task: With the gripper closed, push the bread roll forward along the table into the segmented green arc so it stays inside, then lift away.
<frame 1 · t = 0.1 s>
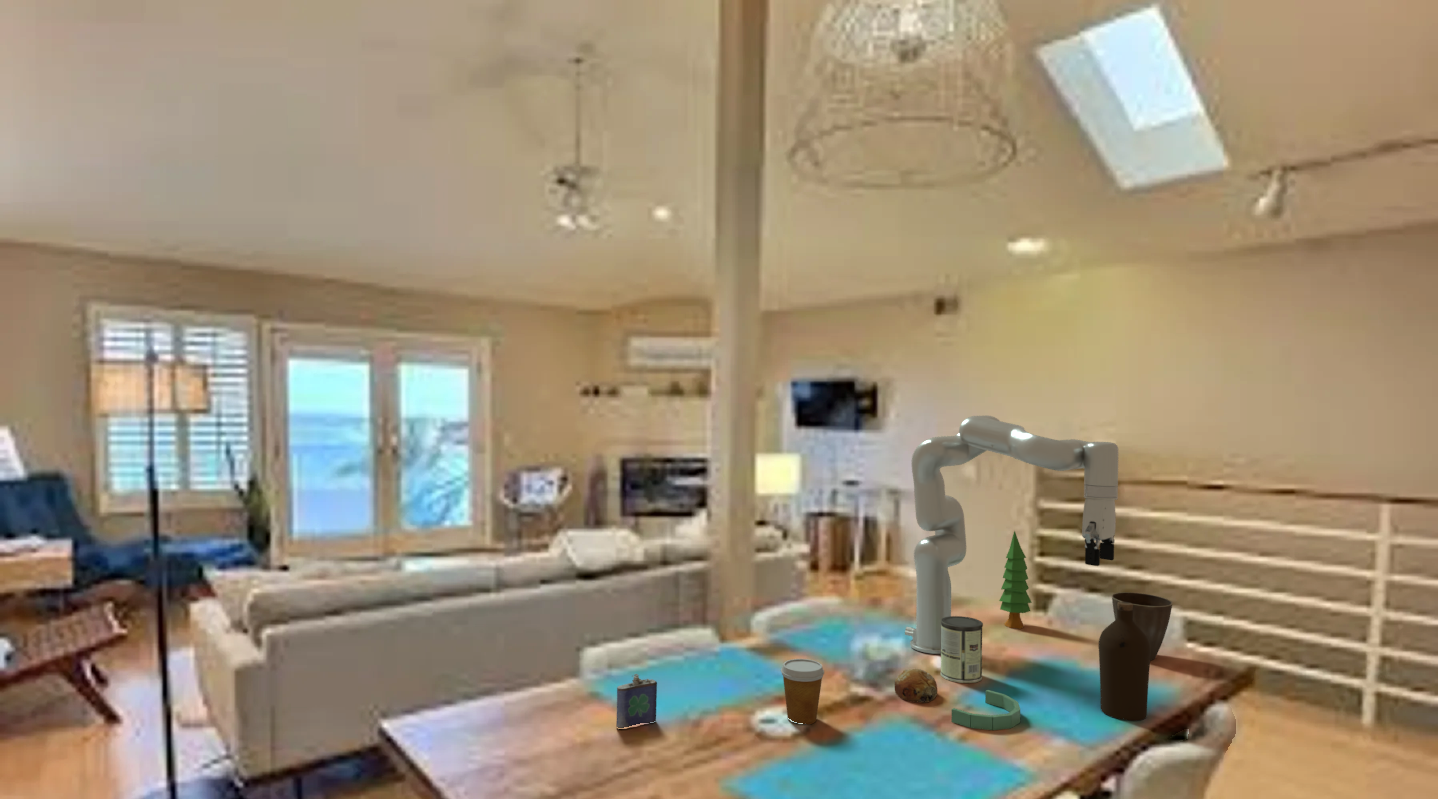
hand: (1099, 562, 201), 31 cm above the table, tool pointing down, fingers open, 9 cm apart
flask: (636, 725, 177), on the table
olive oil: (1123, 713, 186), on the table
decorative tree: (1014, 626, 257), on the table
segmented green arc: (979, 714, 185), on the table
bread roll: (916, 697, 196), on the table
plant pot: (1140, 657, 227), on the table
disposable coffee cup: (801, 720, 181), on the table
coffee can: (960, 677, 210), on the table
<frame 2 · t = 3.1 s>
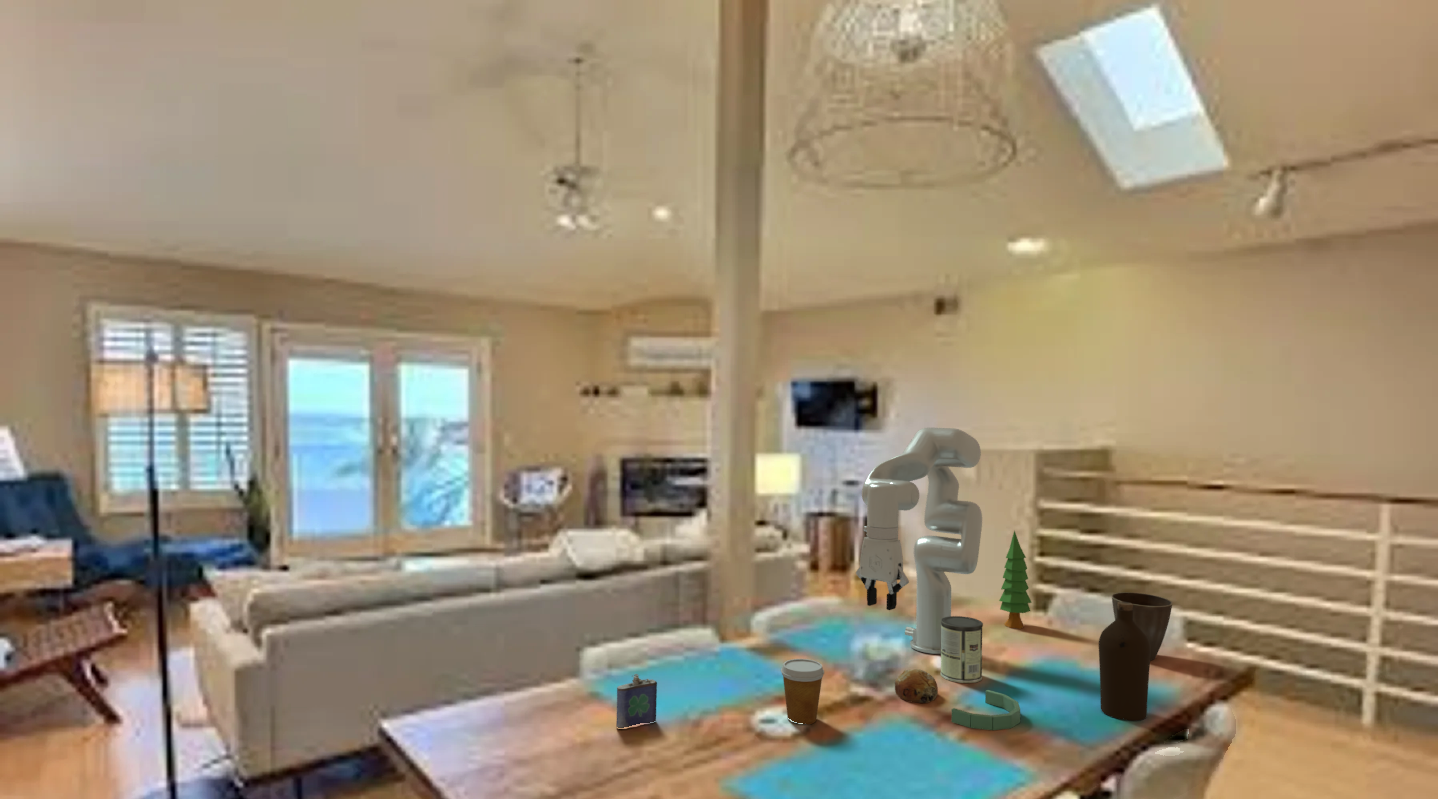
hand: (881, 606, 203), 19 cm above the table, tool pointing down, fingers open, 4 cm apart
nothing on the table moved.
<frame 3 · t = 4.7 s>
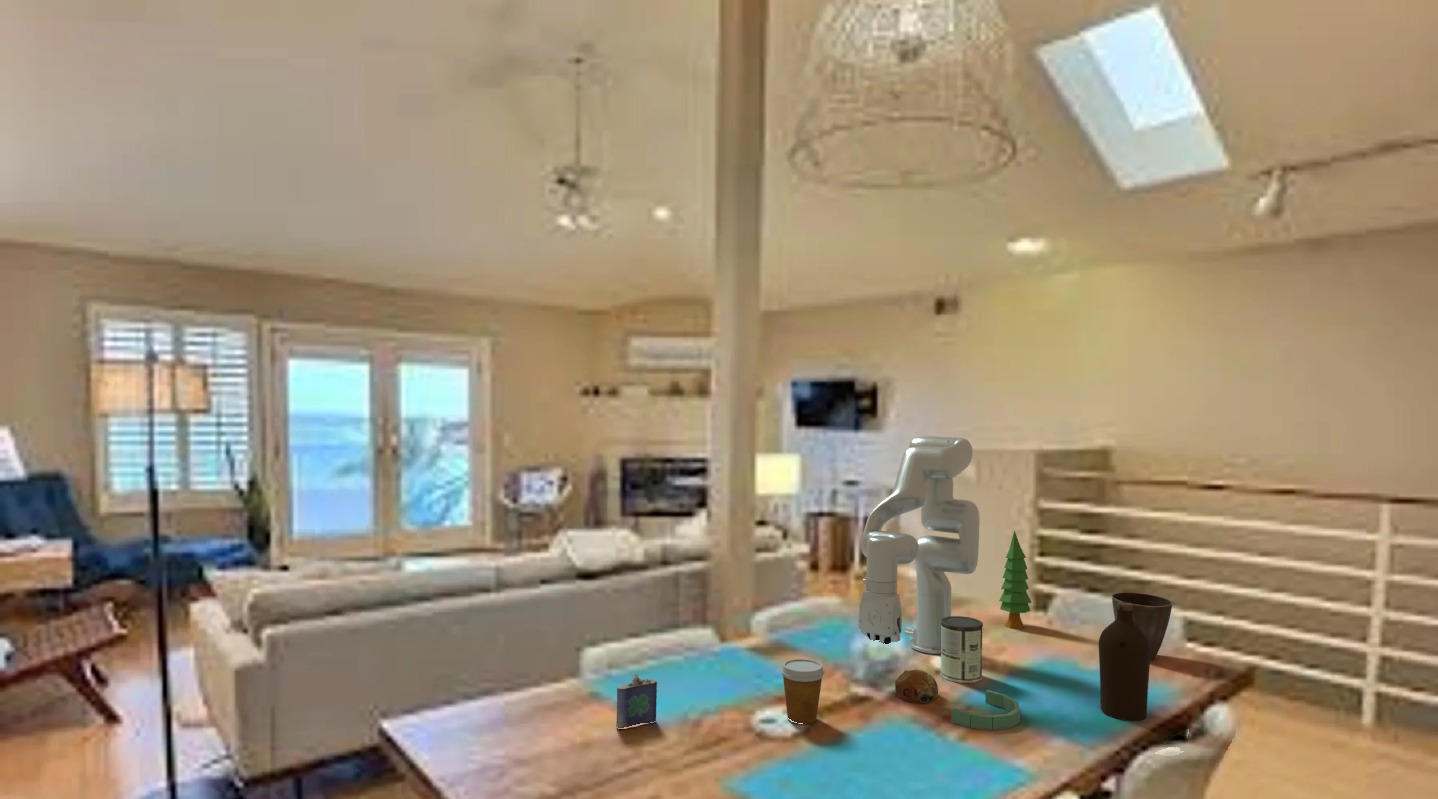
hand: (879, 661, 202), 6 cm above the table, tool pointing down, fingers closed
nothing on the table moved.
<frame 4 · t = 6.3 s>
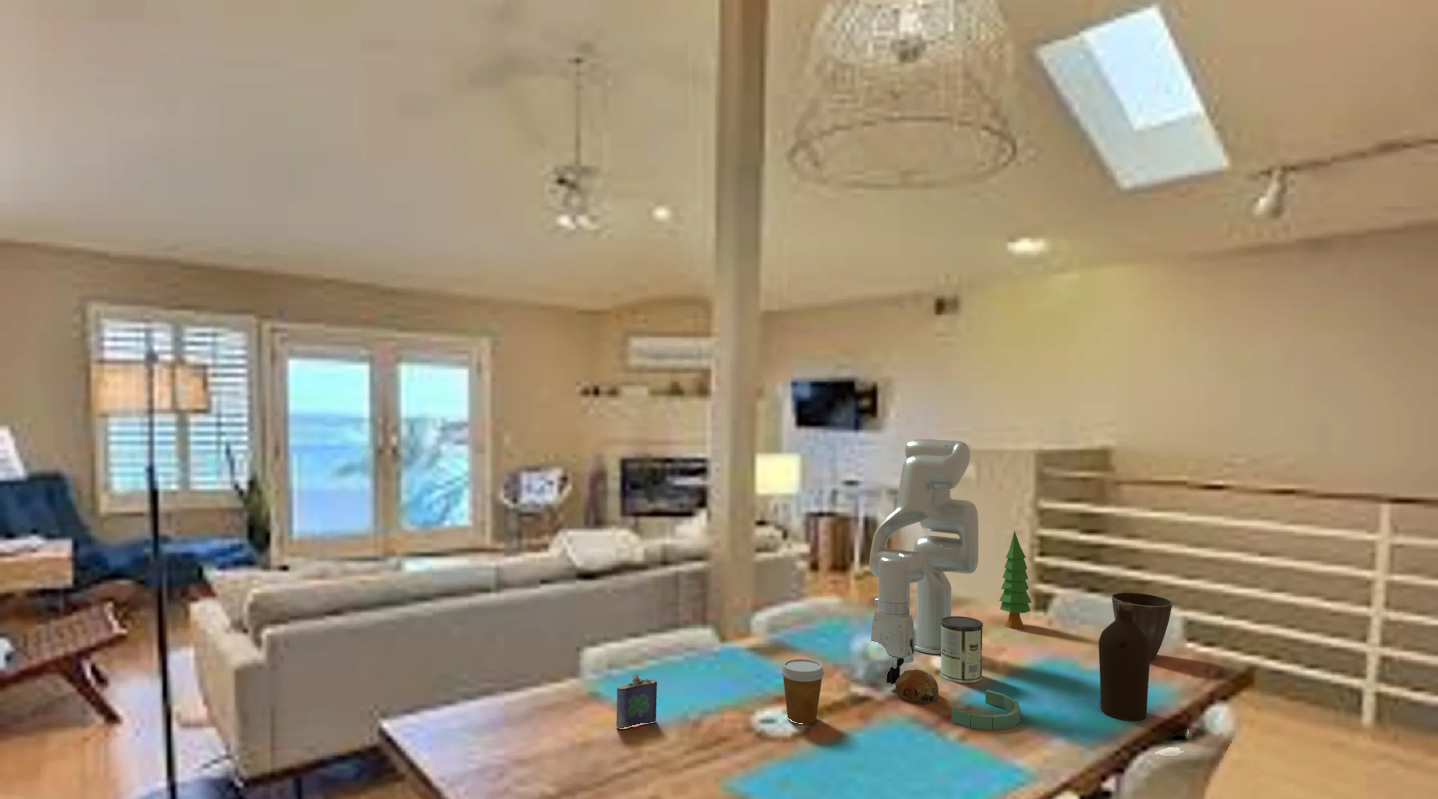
hand: (892, 682, 200), 2 cm above the table, tool pointing down, fingers closed
bread roll: (917, 697, 195), on the table, touching gripper
everything else where it was.
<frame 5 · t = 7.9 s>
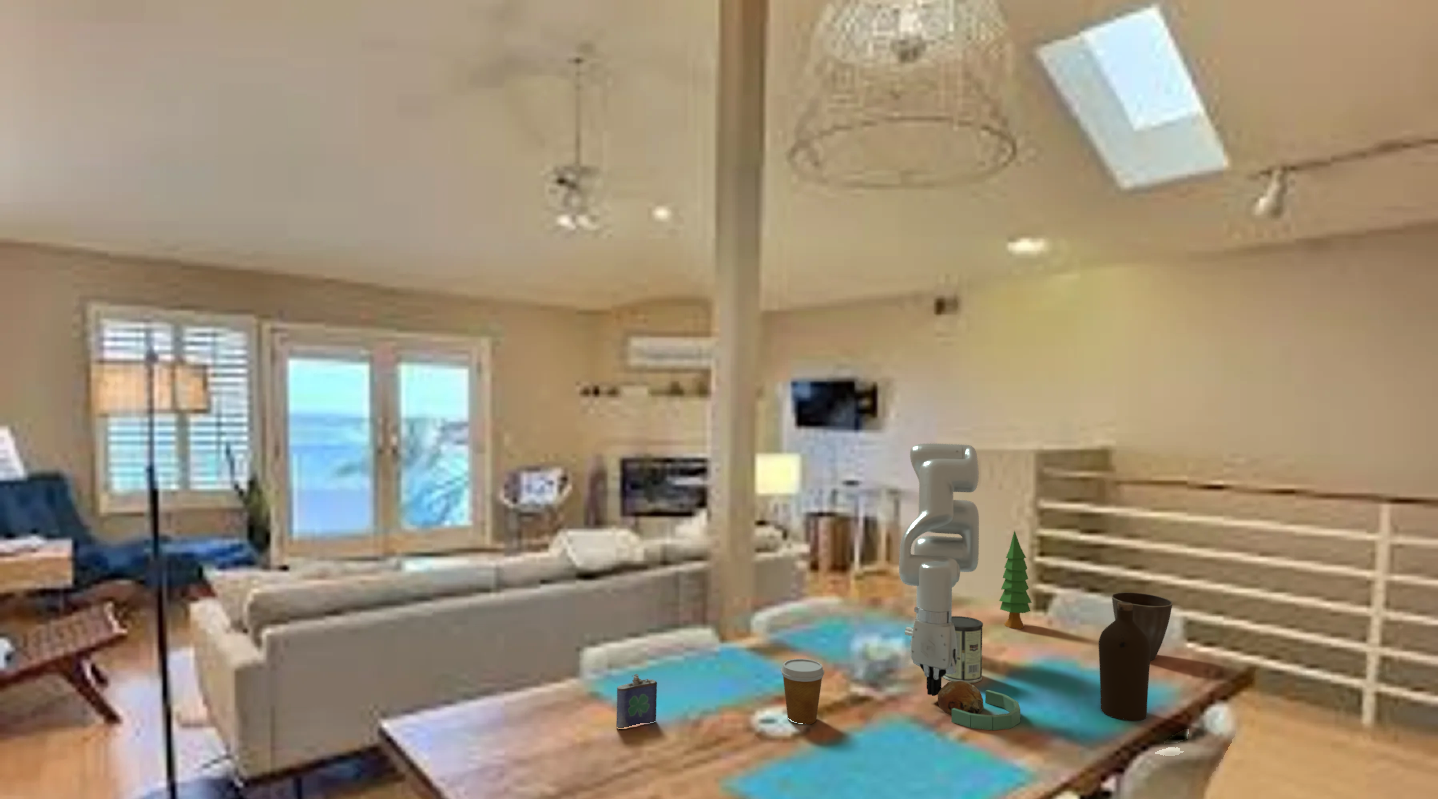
hand: (933, 693, 193), 2 cm above the table, tool pointing down, fingers closed
bread roll: (961, 710, 188), on the table, touching gripper
everything else where it was.
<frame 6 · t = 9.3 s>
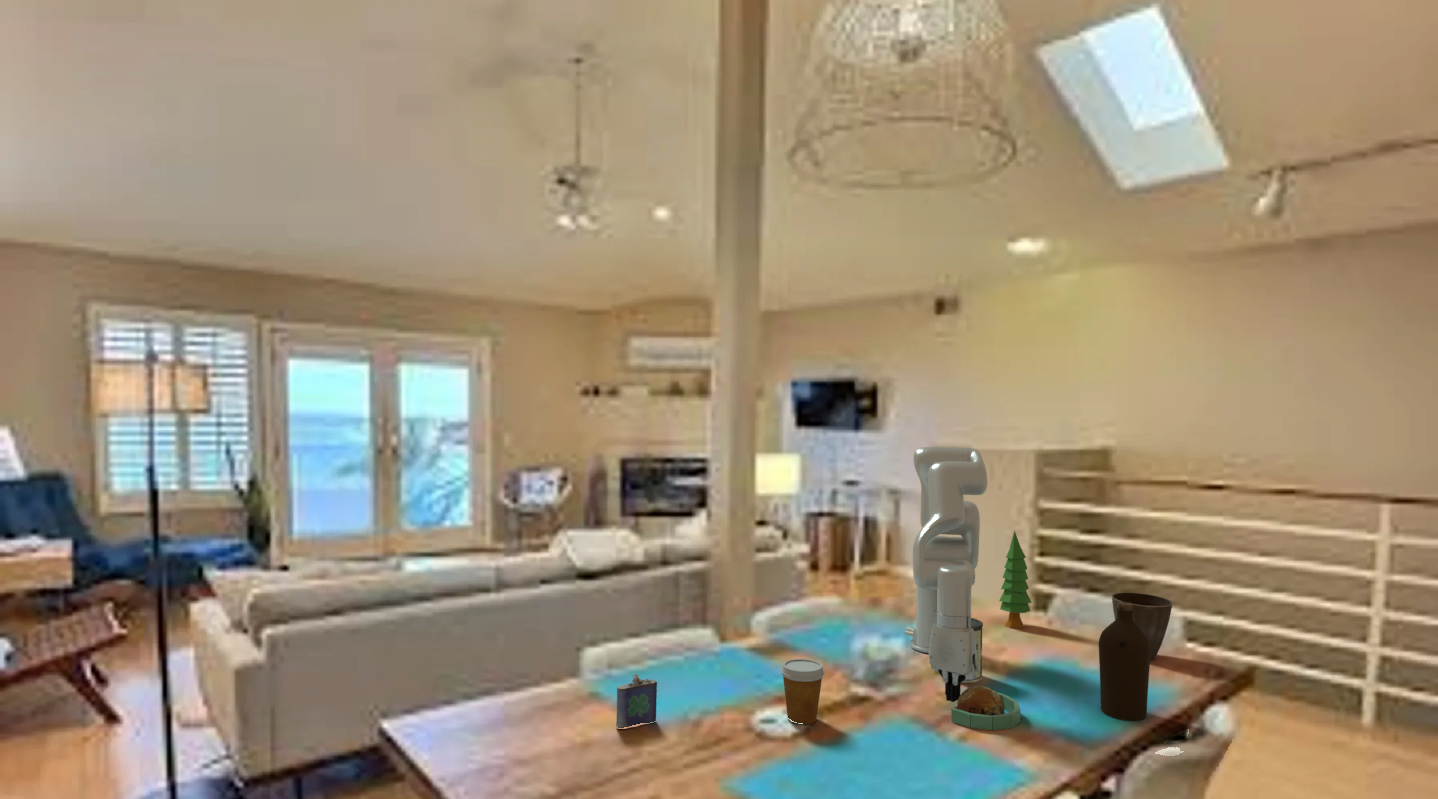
hand: (952, 699, 189), 2 cm above the table, tool pointing down, fingers closed
bread roll: (981, 716, 185), on the table
everything else where it was.
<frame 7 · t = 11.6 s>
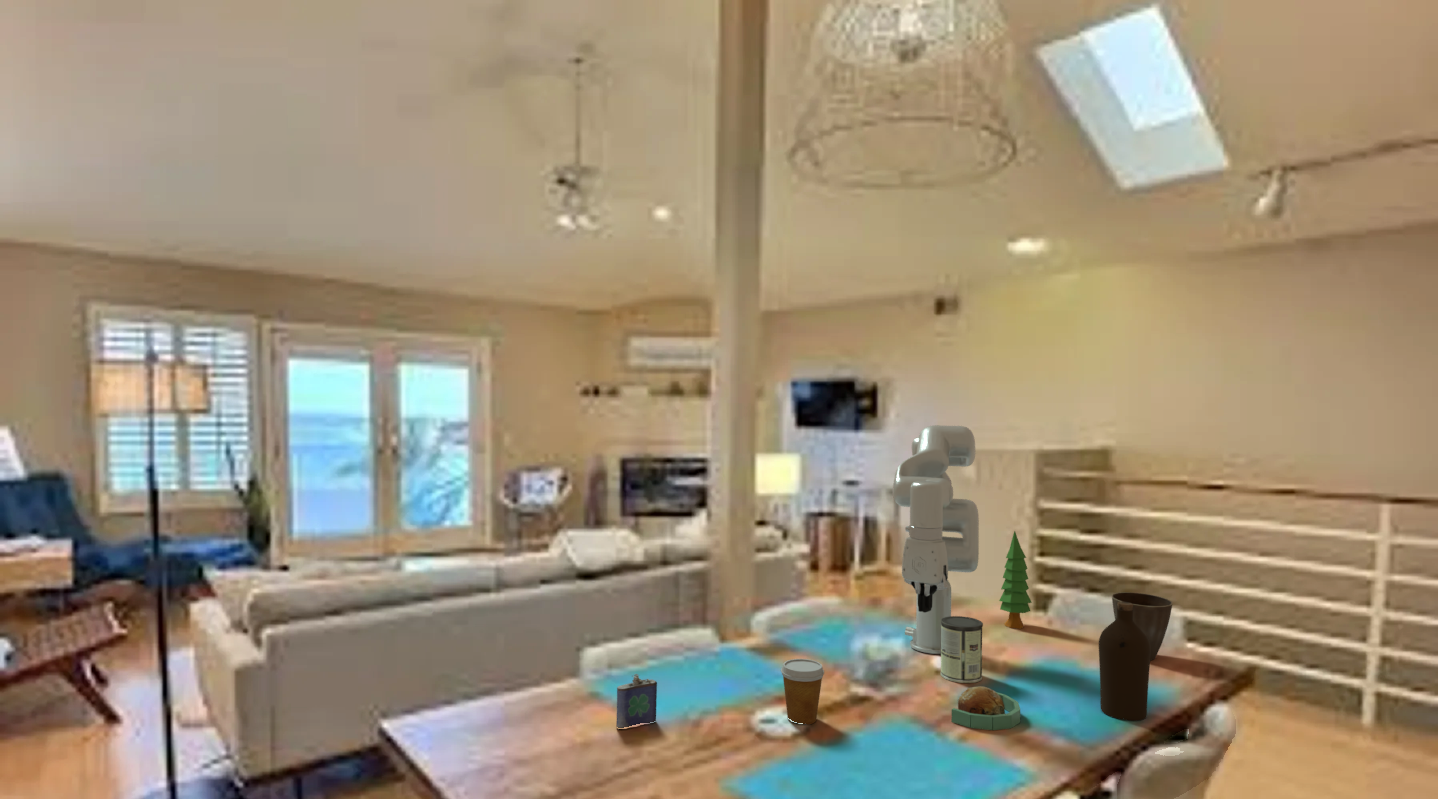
hand: (924, 610, 195), 21 cm above the table, tool pointing down, fingers closed
nothing on the table moved.
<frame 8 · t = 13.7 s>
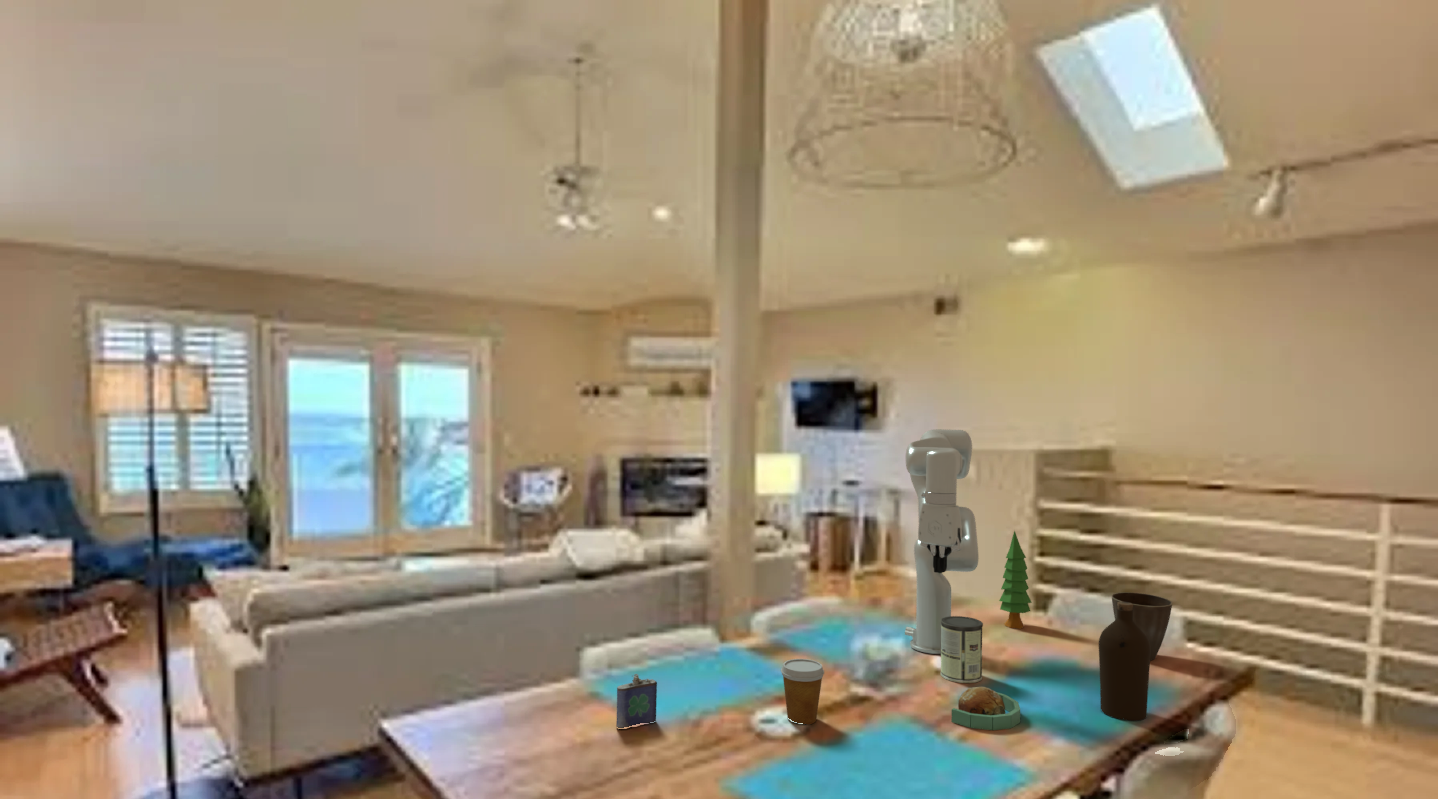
hand: (939, 571, 207), 27 cm above the table, tool pointing down, fingers closed
nothing on the table moved.
at the end: bread roll inside the target area on the segmented green arc (0.6 cm from its centre), point 0.0 cm above the segmented green arc's base; bread roll moved 16.8 cm from its start; the gripper is holding nothing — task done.
